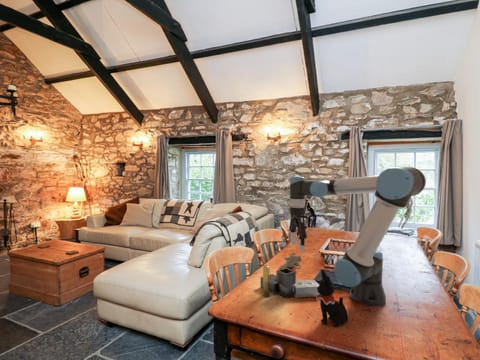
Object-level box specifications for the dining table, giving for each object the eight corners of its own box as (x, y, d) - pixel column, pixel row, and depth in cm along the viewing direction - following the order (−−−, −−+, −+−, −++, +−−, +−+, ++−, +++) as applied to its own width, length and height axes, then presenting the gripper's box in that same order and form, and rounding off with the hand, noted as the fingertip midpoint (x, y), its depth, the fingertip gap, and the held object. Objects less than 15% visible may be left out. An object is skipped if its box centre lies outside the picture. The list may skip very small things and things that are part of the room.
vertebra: (295, 272, 159) (289, 254, 161) (280, 275, 166) (274, 258, 168) (311, 263, 175) (306, 247, 177) (297, 267, 181) (292, 251, 183)
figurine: (313, 317, 115) (313, 268, 114) (344, 316, 116) (345, 268, 115) (320, 328, 107) (320, 276, 106) (353, 327, 109) (354, 275, 108)
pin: (270, 295, 134) (270, 266, 134) (265, 297, 133) (266, 267, 132) (266, 293, 137) (266, 264, 136) (261, 295, 135) (261, 266, 134)
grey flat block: (314, 288, 141) (314, 279, 141) (320, 296, 133) (320, 286, 133) (290, 290, 140) (290, 280, 140) (295, 297, 132) (295, 287, 132)
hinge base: (296, 295, 135) (296, 271, 135) (284, 299, 130) (285, 275, 130) (272, 283, 149) (272, 261, 148) (260, 287, 144) (260, 264, 143)
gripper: (283, 204, 158) (283, 242, 158) (298, 210, 133) (298, 255, 134) (296, 203, 159) (296, 241, 159) (313, 209, 134) (313, 254, 135)
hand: (297, 248), depth 147 cm, fingers open, 13 cm apart
